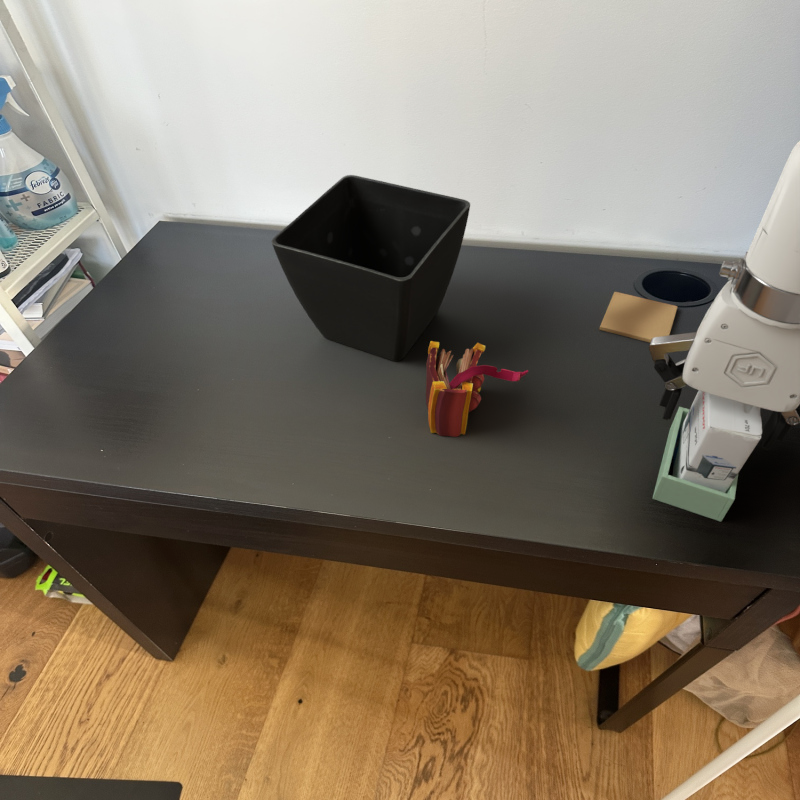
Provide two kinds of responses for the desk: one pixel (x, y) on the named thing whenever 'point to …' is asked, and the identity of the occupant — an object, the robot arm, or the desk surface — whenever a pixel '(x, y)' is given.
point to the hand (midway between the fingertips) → (716, 424)
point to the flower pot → (373, 261)
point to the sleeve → (689, 484)
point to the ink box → (715, 441)
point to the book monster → (457, 388)
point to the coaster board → (638, 317)
